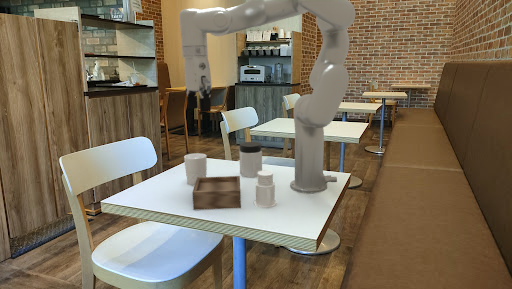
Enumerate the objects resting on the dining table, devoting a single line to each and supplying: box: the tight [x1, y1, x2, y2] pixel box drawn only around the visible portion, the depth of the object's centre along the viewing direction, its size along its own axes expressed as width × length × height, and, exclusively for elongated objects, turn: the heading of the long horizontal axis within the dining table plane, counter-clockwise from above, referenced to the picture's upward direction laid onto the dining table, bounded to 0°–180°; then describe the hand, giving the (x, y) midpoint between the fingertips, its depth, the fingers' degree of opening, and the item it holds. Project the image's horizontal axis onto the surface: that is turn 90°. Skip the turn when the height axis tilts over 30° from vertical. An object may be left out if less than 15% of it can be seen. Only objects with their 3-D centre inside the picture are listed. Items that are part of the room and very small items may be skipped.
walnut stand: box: [191, 175, 242, 211], centre depth 112 cm, size 14×14×6 cm
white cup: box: [183, 152, 208, 187], centre depth 129 cm, size 8×8×10 cm
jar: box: [238, 141, 263, 179], centre depth 138 cm, size 9×8×12 cm
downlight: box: [253, 169, 278, 209], centre depth 109 cm, size 8×7×10 cm
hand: (198, 110), depth 111 cm, fingers open, 9 cm apart
